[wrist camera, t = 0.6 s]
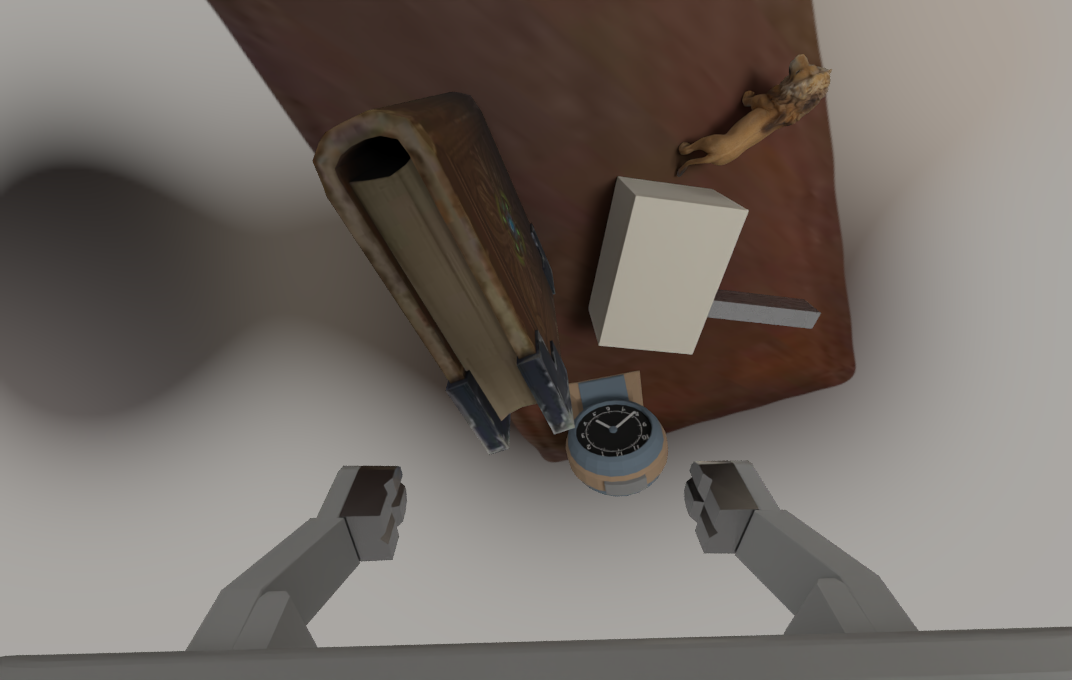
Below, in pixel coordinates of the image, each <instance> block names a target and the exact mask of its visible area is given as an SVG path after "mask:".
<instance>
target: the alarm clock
mask: <svg viewBox="0 0 1072 680" xmlns="http://www.w3.org/2000/svg"><path fill="white" fill-rule="evenodd" d="M569 390H570V397H571V404H572V411H573V418H574V424H575V428H572V429H569V432H568V436H567V438H566V452H567V455H568V459H569V463H570V466H571V469H572V470H573V472H574V473H575V475H576V476H577V477H578V478H579V479H580V480H581V481H582V482H583V483H584V484H585V485H587V486H588V487H589V488H591V489H593V490H595V491H598V492H599V493H602V494H605V495H611V496H628V495H631V494H635V493H638V492H640V491H642V490H644V489H646V488H647V487H649V486H650V485H651V484H652V483H653V482H654V481H655V480H656V479H657V478H658V477H659V475H660V473H661V472H662V470H663V468H664V466H665V464H666V462H667V456H668V445H667V438H666V433H665V430H664V429H663V427H662V425H661V424H660V422H659V421H658V420H657V418H656V416H654V415H653V414H652V413H651V412H650V411H649V410H648V409H646V408H645V407H643V400H642V390H641V381H640V371H633V372H628V373H623V374H617V375H612V376H607V377H602V378H596V379H591V380H586V381H580V382H575V383H570V384H569Z"/></svg>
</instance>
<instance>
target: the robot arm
mask: <svg viewBox="0 0 1072 680" xmlns="http://www.w3.org/2000/svg"><path fill="white" fill-rule="evenodd" d="M690 473H691V476H692V478H691V479H689V480H688V481H687V482H686V486H685V490H684V494H685V496H684V497H685V504H686V508H687V511H688V513H689V516H690V517H691V518H692V519H694V520H695V521H696V522H697V526H696V529H695V532H696V534H697V537H698V539H699V542H700V544H701V547H702V549H703V552H704V553H736V554H735V556H737V558H739V560H741V562H742V563H743V564H744V565H745V566H747V568H748V569H749V570H750V571H751V572H752V573H753V574H754V575H755V576H756V577H757V578H758V579H759V580H760V581H761V582H762V583H763V584H764V585H765V586H766V587H767V588H768V589H769V590H770V591H771V592H772V593H773V594H774V595H775V596H776V597H777V598H778V599H779V600H780V601H781V602H782V603H783V604H784V605H785V606H786V607H787V608H788V609H789V610H790V611H791V612H792V613H793V614H794V615H795V616H794V618H793V619H792V621H791V623H790V624H789V626H788V627H787V629H786V631H785V633H784V635H761V636H760V635H759V636H758V635H757V636H723V637H722V636H721V637H684V638H648V639H647V638H646V639H608V640H572V641H538V642H537V641H536V642H503V643H465V644H432V645H431V644H430V645H429V644H428V645H394V646H356V647H320V648H317V646H316V644H315V642H314V640H313V638H312V636H311V634H310V632H309V631H308V629H307V627H306V625H307V624H308V623H309V621H310V620H311V619H312V618H313V617H314V616H315V615H316V613H317V612H318V611H319V610H320V609H321V608H322V606H323V605H324V604H325V603H326V602H327V601H328V600H329V598H330V597H331V596H332V595H333V594H334V593H335V591H336V590H337V589H338V588H339V587H340V586H341V585H342V583H343V582H344V581H345V580H346V579H347V578H348V576H349V575H350V574H351V573H352V572H353V571H354V570H355V568H356V567H357V566H358V565H359V564H360V562H359V561H377V560H392V559H393V556H394V552H395V549H396V545H397V541H398V538H399V534H398V530H397V526H399V525H400V523H402V522H403V519H404V515H405V510H406V502H407V498H406V488H405V486H404V485H403V484H402V483H401V479H402V471H401V467H399V466H343V467H342V468H341V469H340V470H339V471H338V473H337V476H336V478H335V480H334V482H333V484H332V486H331V488H330V490H329V492H328V495H327V497H326V499H325V501H324V503H323V505H322V507H321V509H320V512H319V514H318V516H317V518H310V519H309V520H308V521H307V522H305V523H304V524H303V525H302V526H301V527H299V528H298V529H297V530H296V531H294V532H293V533H292V534H291V535H289V536H288V537H287V538H286V539H284V540H283V541H282V542H281V543H279V544H278V545H277V546H276V547H275V548H273V549H272V550H271V551H270V552H268V553H267V554H266V555H265V556H263V557H262V558H261V559H260V560H259V561H257V562H256V563H255V564H253V565H252V566H251V567H250V568H249V569H247V570H246V571H245V572H244V573H242V574H241V575H240V576H239V577H237V578H236V579H235V580H234V581H232V582H231V583H230V584H229V585H227V586H226V587H225V588H224V589H223V590H221V592H220V594H219V595H218V597H217V599H216V600H215V602H214V604H213V605H212V607H211V609H210V611H209V612H208V614H207V615H206V617H205V619H204V620H203V622H202V624H201V626H200V627H199V629H198V631H197V632H196V634H195V636H194V637H193V639H192V641H191V643H190V644H189V646H188V647H187V649H186V651H174V652H173V651H172V652H137V653H136V652H134V653H97V654H57V655H16V656H3V657H0V680H1072V627H1049V628H1048V627H1047V628H1046V627H1045V628H1010V629H973V630H938V631H918V629H917V628H916V627H915V626H914V624H913V622H912V621H911V620H910V618H909V617H908V616H907V614H906V613H905V611H904V610H903V609H902V607H901V606H900V605H899V603H898V602H897V600H896V599H895V598H894V596H893V595H892V593H891V592H890V591H889V589H888V588H887V587H886V585H885V584H884V582H883V581H882V580H881V578H880V577H879V576H878V575H877V574H875V573H874V572H872V571H871V570H870V569H868V568H867V567H865V566H864V565H863V564H861V563H860V562H858V561H857V560H856V559H854V558H853V557H851V556H850V555H848V554H847V553H846V552H844V551H843V550H842V549H840V548H839V547H837V546H836V545H834V544H833V543H832V542H830V541H829V540H827V539H826V538H825V537H823V536H822V535H820V534H819V533H818V532H816V531H815V530H813V529H812V528H810V527H809V526H808V525H806V524H805V523H803V522H802V521H801V520H799V519H798V518H796V517H795V516H794V515H792V514H791V513H789V512H788V511H786V510H780V509H779V507H778V505H777V504H776V502H775V501H774V499H773V497H772V496H771V494H770V492H769V491H768V489H767V488H766V486H765V484H764V483H763V481H762V480H761V478H760V476H759V475H758V473H757V471H756V470H755V468H754V467H753V465H752V463H750V462H749V461H697V462H693V464H692V465H691V468H690Z"/></svg>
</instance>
